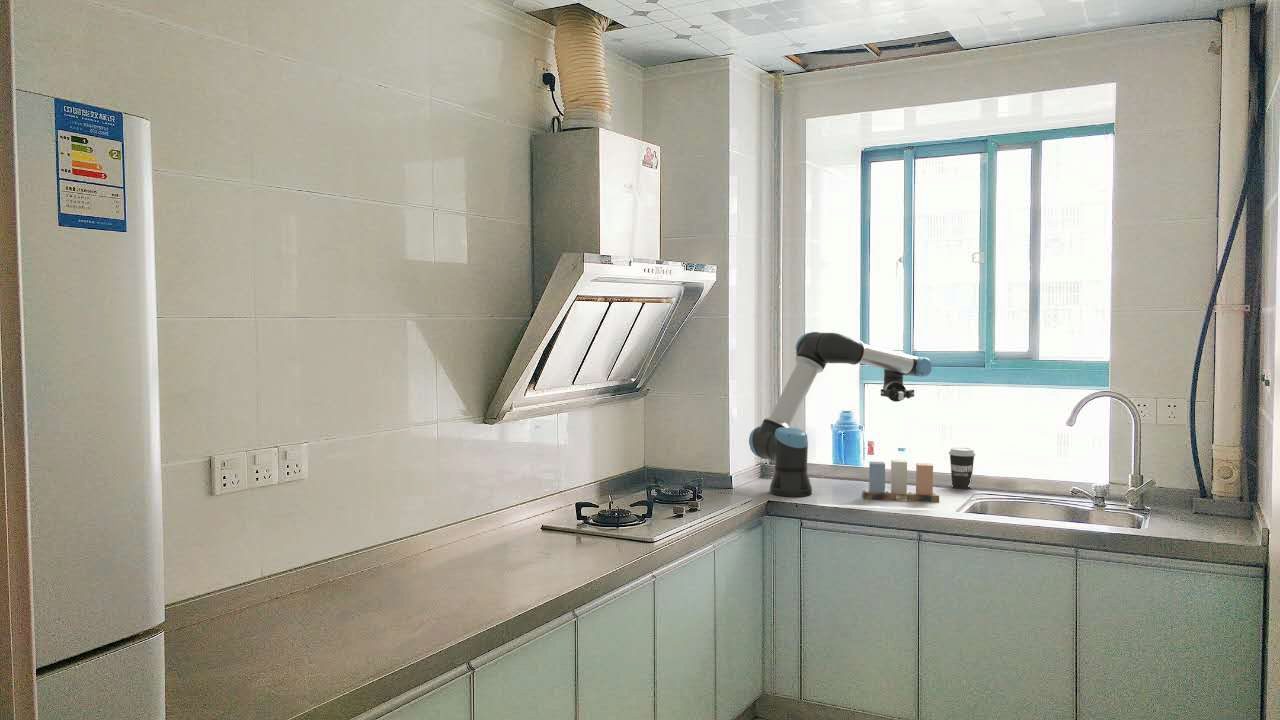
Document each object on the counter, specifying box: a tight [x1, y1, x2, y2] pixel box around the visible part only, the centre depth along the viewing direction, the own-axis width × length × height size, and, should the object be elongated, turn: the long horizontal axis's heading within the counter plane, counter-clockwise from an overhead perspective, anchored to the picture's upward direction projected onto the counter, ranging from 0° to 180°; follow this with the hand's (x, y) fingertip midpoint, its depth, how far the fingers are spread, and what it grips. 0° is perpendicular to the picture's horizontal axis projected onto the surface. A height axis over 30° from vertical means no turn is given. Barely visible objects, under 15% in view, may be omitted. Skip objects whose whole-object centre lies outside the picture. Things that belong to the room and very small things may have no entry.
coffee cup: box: [948, 446, 976, 489], centre depth 340 cm, size 10×10×15 cm
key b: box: [890, 459, 908, 494], centre depth 322 cm, size 5×5×12 cm
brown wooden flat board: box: [861, 490, 940, 503], centre depth 320 cm, size 25×15×3 cm, turn 79°
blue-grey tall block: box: [868, 461, 886, 493], centre depth 318 cm, size 5×5×12 cm
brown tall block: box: [915, 462, 934, 495], centre depth 315 cm, size 5×5×12 cm
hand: (901, 396), depth 335 cm, fingers closed
